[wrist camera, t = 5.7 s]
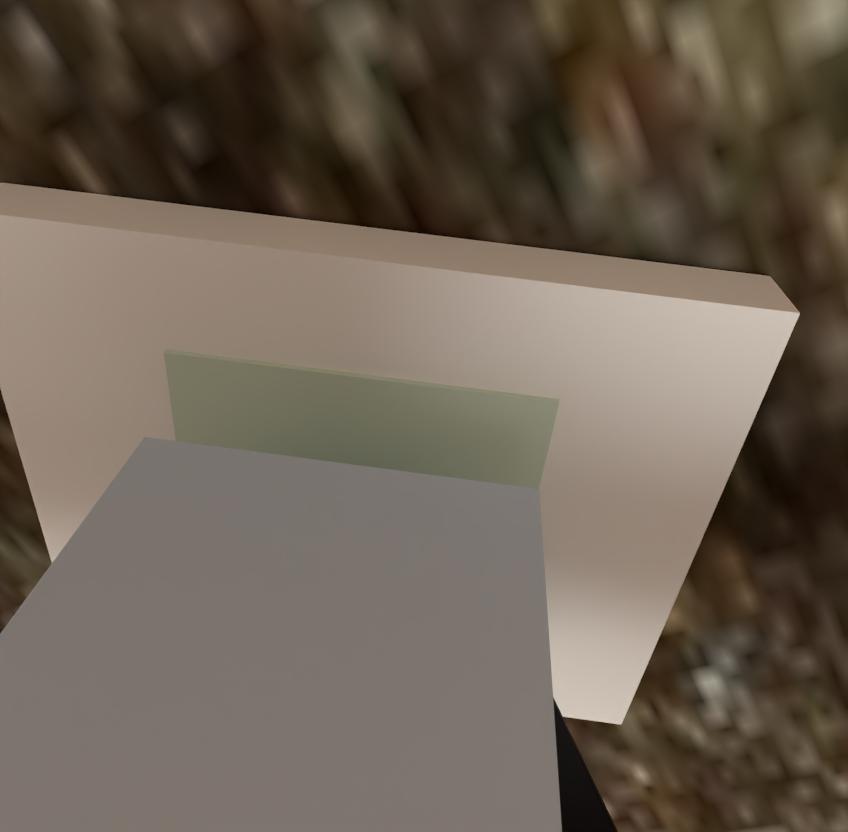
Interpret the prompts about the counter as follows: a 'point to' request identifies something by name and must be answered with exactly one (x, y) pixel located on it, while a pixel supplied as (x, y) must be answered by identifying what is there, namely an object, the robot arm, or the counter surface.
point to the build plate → (397, 382)
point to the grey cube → (284, 655)
